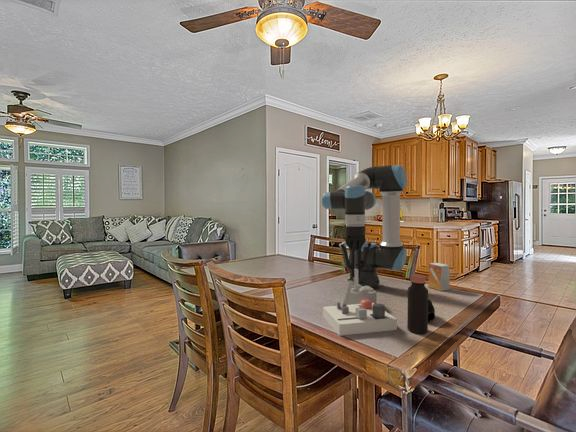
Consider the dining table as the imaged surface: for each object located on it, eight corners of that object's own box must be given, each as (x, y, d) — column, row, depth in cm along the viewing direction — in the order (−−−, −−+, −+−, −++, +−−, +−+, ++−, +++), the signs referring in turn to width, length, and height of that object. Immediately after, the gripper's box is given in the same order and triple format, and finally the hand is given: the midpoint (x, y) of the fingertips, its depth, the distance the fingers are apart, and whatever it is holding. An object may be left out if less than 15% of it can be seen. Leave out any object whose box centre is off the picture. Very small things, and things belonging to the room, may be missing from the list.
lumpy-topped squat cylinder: (378, 309, 131) (378, 289, 131) (348, 310, 130) (348, 290, 130) (370, 301, 141) (370, 283, 141) (343, 302, 141) (343, 283, 140)
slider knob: (363, 315, 113) (363, 307, 113) (366, 318, 110) (366, 310, 110) (355, 315, 113) (355, 307, 113) (359, 318, 110) (359, 310, 110)
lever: (343, 307, 120) (352, 276, 120) (346, 310, 117) (355, 279, 117) (338, 306, 120) (347, 275, 120) (341, 309, 117) (350, 277, 117)
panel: (373, 312, 128) (373, 297, 128) (396, 329, 110) (396, 312, 110) (323, 316, 123) (323, 301, 123) (339, 335, 106) (339, 317, 105)
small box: (428, 287, 164) (428, 263, 163) (436, 285, 166) (437, 262, 166) (440, 291, 156) (441, 266, 156) (449, 289, 159) (450, 265, 158)
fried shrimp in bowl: (419, 313, 113) (393, 286, 130) (423, 334, 118) (397, 305, 134) (441, 304, 114) (412, 277, 130) (444, 324, 119) (416, 296, 135)
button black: (381, 317, 116) (381, 303, 115) (387, 321, 111) (387, 307, 111) (370, 318, 115) (370, 304, 114) (376, 322, 110) (376, 308, 110)
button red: (368, 312, 125) (369, 298, 125) (374, 315, 121) (374, 302, 121) (359, 312, 125) (359, 299, 124) (363, 316, 120) (363, 303, 120)
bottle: (431, 334, 107) (432, 277, 106) (412, 335, 106) (413, 278, 105) (421, 326, 113) (422, 273, 112) (403, 326, 113) (404, 273, 112)
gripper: (343, 226, 113) (343, 289, 114) (375, 225, 115) (375, 287, 116) (335, 225, 120) (336, 284, 121) (366, 224, 123) (366, 282, 124)
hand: (355, 285), depth 119 cm, fingers closed
